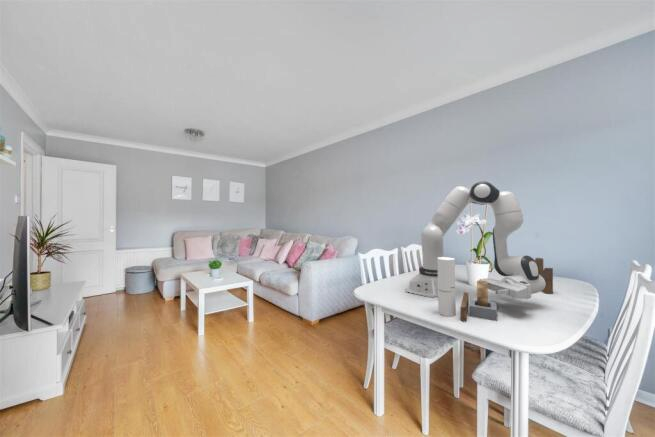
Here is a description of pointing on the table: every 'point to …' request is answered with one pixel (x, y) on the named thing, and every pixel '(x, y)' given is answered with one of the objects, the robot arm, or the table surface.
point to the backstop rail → (464, 306)
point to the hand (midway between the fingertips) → (487, 289)
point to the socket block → (483, 310)
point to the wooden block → (546, 276)
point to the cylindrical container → (446, 286)
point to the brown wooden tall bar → (482, 293)
